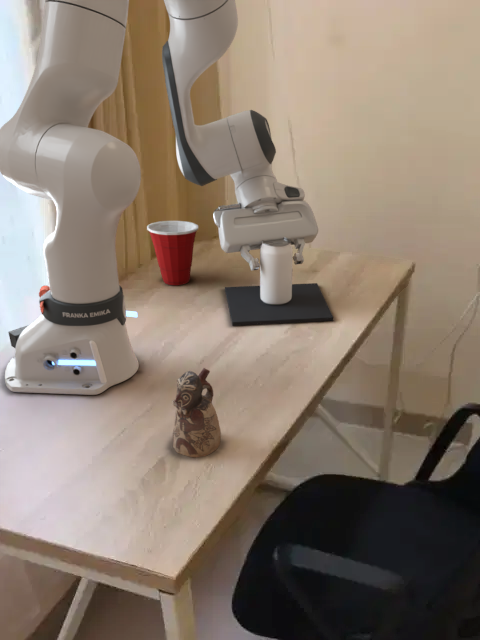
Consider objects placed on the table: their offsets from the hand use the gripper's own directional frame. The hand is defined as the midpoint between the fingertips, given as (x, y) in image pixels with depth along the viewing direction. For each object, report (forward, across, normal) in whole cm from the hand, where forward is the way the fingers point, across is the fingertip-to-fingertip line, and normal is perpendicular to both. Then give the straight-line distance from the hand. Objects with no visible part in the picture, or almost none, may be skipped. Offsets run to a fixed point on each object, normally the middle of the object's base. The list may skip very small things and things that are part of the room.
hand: (277, 266), depth 149 cm
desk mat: (+6, 0, +6) cm, 8 cm away
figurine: (+37, -31, -25) cm, 54 cm away
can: (+5, 0, +6) cm, 7 cm away
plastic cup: (-8, -16, +20) cm, 27 cm away
